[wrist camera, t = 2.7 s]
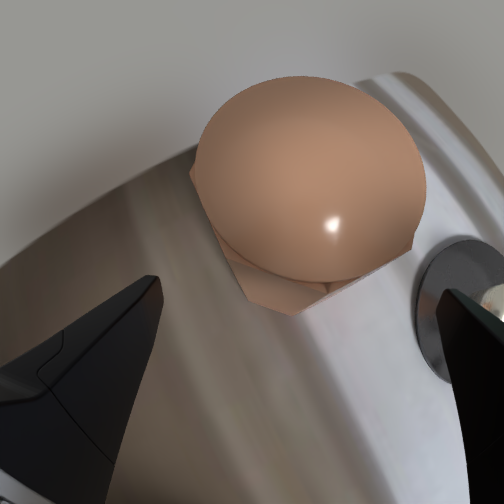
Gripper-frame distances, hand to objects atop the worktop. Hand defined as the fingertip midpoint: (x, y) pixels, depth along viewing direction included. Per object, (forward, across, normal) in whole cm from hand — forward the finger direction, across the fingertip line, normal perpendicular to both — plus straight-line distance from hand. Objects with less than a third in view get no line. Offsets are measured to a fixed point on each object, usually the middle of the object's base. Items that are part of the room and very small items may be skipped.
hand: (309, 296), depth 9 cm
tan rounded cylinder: (+10, 0, +5) cm, 11 cm away
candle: (+8, -14, +8) cm, 18 cm away
